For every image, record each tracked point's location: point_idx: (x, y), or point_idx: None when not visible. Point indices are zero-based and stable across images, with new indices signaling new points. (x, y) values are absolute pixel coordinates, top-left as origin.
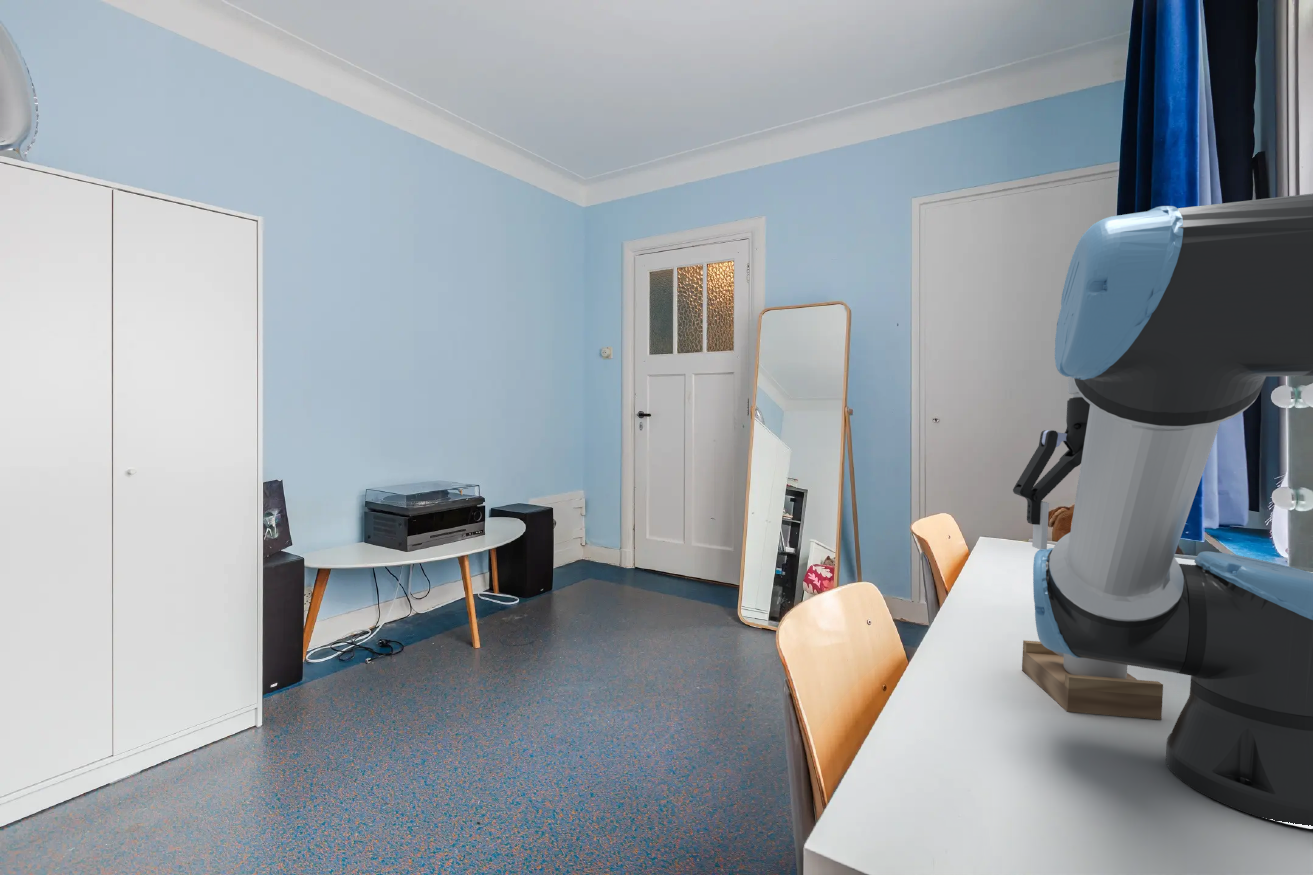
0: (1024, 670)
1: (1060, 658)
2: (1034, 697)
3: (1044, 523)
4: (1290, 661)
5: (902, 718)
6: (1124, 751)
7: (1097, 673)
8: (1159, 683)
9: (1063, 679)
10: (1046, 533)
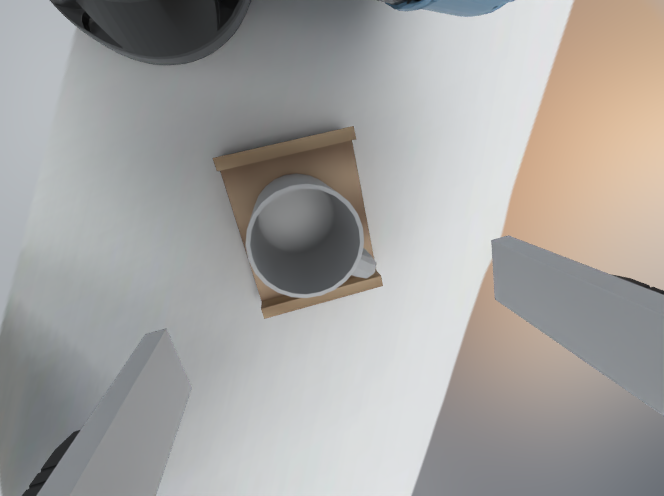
0: None
1: None
2: (374, 165)
3: (582, 268)
4: None
5: (558, 3)
6: (298, 9)
7: (302, 174)
8: (217, 161)
9: (347, 167)
10: (537, 256)
